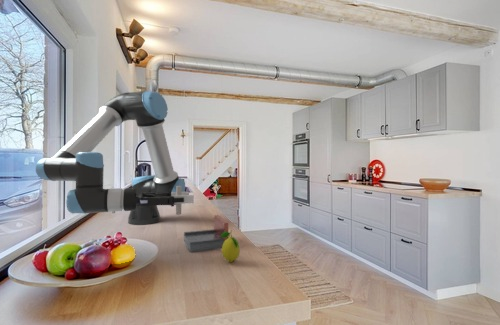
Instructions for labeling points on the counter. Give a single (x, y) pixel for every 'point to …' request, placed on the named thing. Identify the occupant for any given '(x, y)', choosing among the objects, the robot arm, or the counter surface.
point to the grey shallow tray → (207, 237)
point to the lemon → (230, 247)
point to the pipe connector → (178, 206)
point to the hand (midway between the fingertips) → (191, 197)
